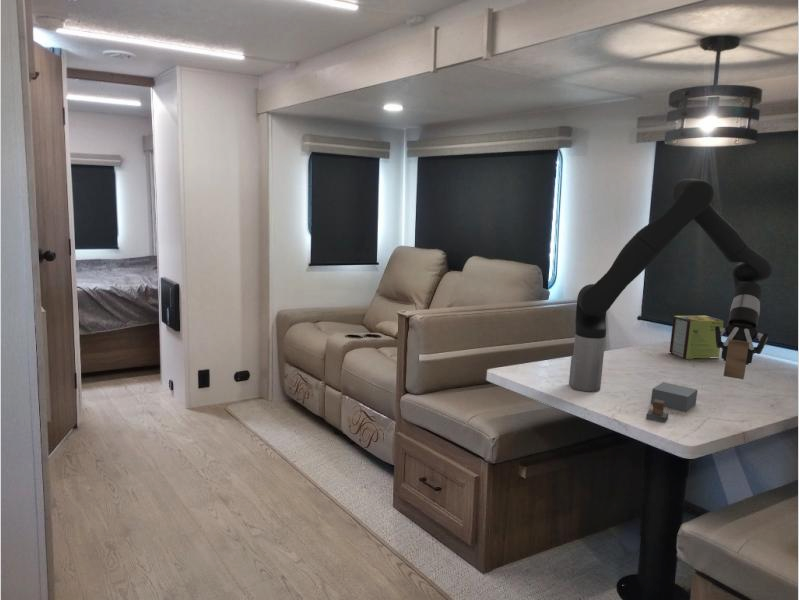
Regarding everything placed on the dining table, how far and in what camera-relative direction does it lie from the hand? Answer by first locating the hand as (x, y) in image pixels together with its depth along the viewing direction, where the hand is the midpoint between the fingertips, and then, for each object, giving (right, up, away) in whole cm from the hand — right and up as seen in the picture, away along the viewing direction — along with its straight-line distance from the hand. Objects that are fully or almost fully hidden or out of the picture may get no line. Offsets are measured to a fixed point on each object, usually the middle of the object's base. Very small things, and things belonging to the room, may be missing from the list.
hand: (736, 361), depth 174 cm
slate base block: (-12, -14, +12) cm, 22 cm away
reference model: (-23, -16, -1) cm, 28 cm away
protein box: (+23, -5, +74) cm, 78 cm away
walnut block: (+1, -4, +2) cm, 5 cm away
